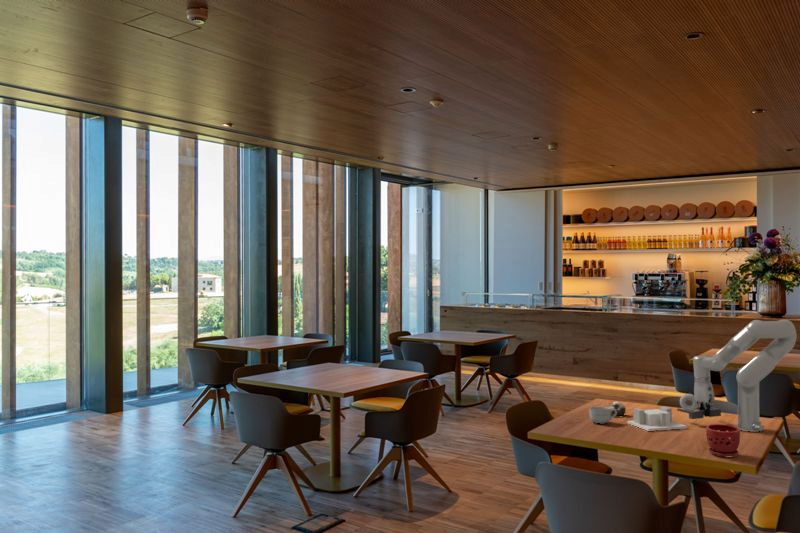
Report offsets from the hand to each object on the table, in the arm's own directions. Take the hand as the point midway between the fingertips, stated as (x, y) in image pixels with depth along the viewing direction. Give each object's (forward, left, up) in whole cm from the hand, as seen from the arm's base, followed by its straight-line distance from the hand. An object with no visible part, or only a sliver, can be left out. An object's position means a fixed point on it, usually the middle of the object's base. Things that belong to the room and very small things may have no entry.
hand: (705, 415), depth 337 cm
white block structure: (+5, +26, -5) cm, 27 cm away
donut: (+30, -14, -5) cm, 33 cm away
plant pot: (-49, +31, -5) cm, 58 cm away
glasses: (+5, 0, -1) cm, 5 cm away
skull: (+33, +31, -5) cm, 45 cm away
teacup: (+18, +48, -5) cm, 51 cm away
